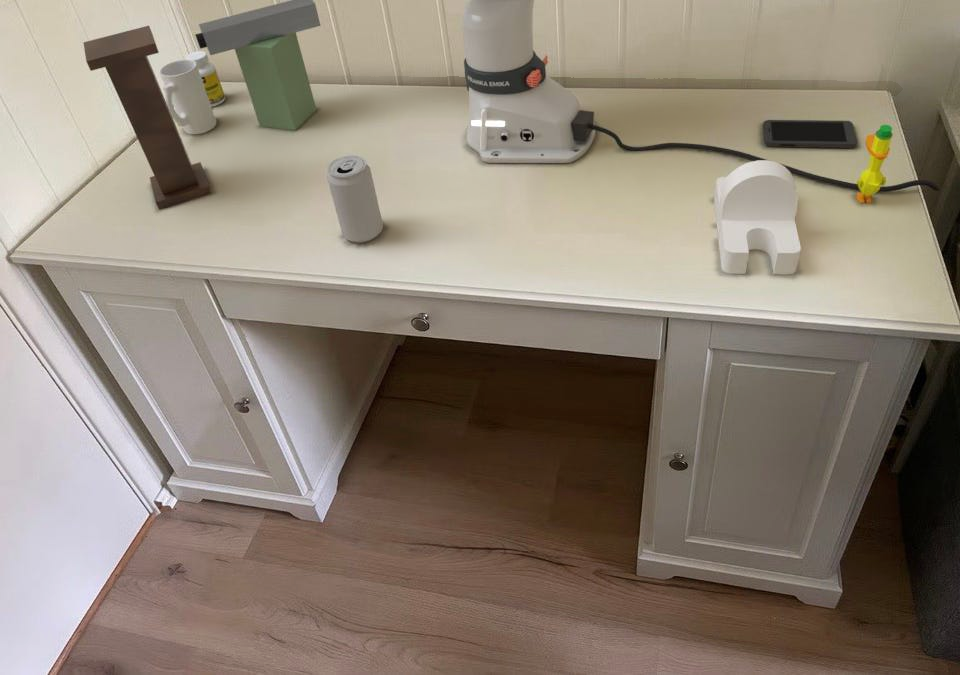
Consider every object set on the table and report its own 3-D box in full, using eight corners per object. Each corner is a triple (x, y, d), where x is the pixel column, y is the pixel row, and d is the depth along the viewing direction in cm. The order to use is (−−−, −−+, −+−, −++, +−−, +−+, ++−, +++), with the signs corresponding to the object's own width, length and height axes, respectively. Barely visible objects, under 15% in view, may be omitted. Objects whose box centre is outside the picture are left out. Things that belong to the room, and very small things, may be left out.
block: (316, 109, 152) (294, 28, 141) (295, 130, 147) (271, 47, 136) (281, 106, 155) (257, 25, 144) (259, 126, 150) (233, 44, 138)
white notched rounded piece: (722, 273, 106) (731, 207, 98) (713, 197, 118) (721, 133, 111) (797, 274, 104) (812, 207, 97) (780, 197, 117) (793, 132, 109)
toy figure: (844, 186, 117) (863, 112, 109) (869, 184, 116) (890, 110, 108) (857, 212, 112) (878, 137, 104) (883, 211, 112) (906, 136, 103)
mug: (194, 117, 155) (171, 59, 147) (224, 118, 153) (202, 59, 145) (167, 143, 148) (142, 84, 140) (199, 145, 147) (175, 85, 138)
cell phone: (857, 148, 123) (858, 144, 123) (763, 146, 126) (764, 142, 126) (851, 124, 128) (852, 120, 128) (762, 123, 131) (762, 119, 131)
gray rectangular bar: (314, 17, 144) (308, -5, 141) (320, 25, 141) (315, 3, 138) (199, 48, 139) (191, 26, 136) (203, 57, 136) (195, 34, 133)
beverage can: (336, 243, 120) (317, 175, 111) (353, 218, 124) (335, 152, 116) (374, 247, 118) (358, 179, 110) (390, 222, 122) (375, 154, 114)
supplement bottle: (201, 110, 157) (183, 64, 150) (197, 100, 161) (180, 53, 154) (228, 103, 158) (211, 56, 151) (223, 92, 162) (207, 46, 155)
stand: (206, 168, 140) (148, 24, 122) (214, 192, 134) (155, 44, 116) (149, 185, 138) (83, 41, 120) (155, 210, 132) (86, 62, 114)
